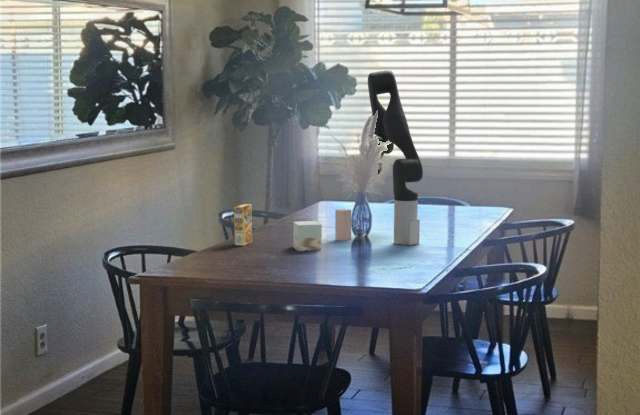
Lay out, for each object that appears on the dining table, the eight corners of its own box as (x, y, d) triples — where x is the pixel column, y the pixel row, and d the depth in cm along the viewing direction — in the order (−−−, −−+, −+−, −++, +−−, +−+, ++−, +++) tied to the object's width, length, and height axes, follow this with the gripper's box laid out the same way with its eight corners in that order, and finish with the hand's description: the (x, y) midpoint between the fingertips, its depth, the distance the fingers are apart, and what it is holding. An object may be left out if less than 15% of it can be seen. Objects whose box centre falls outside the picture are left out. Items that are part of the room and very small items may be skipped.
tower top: (316, 233, 368) (316, 221, 368) (321, 237, 360) (321, 224, 359) (293, 234, 366) (293, 221, 366) (298, 238, 358) (298, 225, 357)
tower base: (316, 246, 369) (316, 233, 368) (320, 250, 360) (320, 237, 359) (293, 247, 367) (293, 234, 366) (297, 251, 358) (297, 238, 358)
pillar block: (351, 239, 384) (351, 209, 383) (343, 240, 381) (343, 211, 379) (342, 238, 387) (343, 208, 386) (335, 239, 384) (335, 210, 383)
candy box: (244, 246, 369) (243, 206, 367) (234, 245, 370) (233, 206, 368) (252, 242, 377) (252, 204, 375) (242, 241, 378) (242, 203, 376)
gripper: (353, 148, 396) (341, 163, 383) (386, 152, 392) (375, 167, 378) (353, 165, 400) (341, 180, 386) (386, 169, 395) (375, 184, 382)
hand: (358, 173), depth 382 cm, fingers open, 8 cm apart
